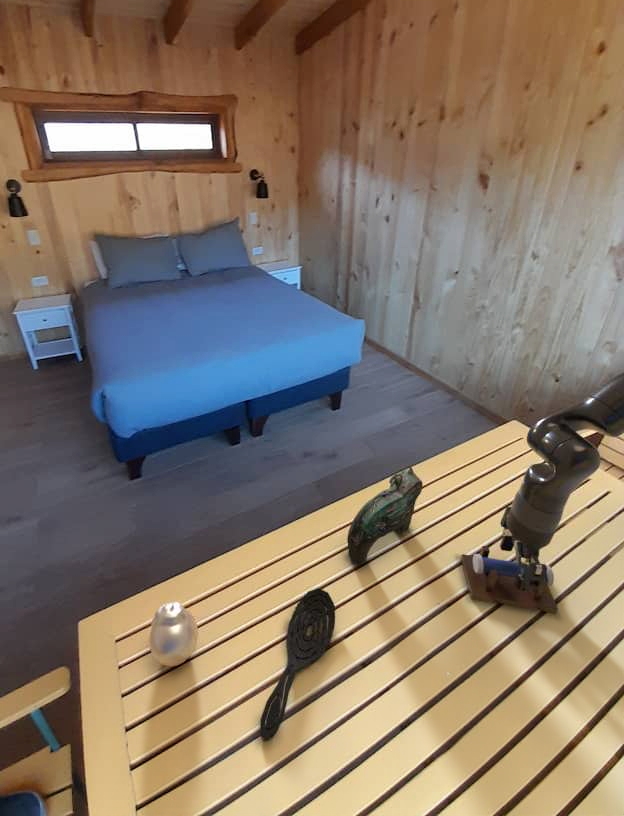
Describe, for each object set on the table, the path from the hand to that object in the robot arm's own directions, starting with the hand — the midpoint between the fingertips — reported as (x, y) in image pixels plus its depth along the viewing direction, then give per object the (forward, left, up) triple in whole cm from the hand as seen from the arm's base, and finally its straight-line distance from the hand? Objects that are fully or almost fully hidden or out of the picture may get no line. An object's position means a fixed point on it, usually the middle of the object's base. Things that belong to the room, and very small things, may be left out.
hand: (512, 567), depth 83 cm
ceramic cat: (+25, -5, -6) cm, 27 cm away
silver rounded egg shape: (+65, +24, -6) cm, 70 cm away
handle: (0, 0, -2) cm, 2 cm away
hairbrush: (+42, +22, -6) cm, 48 cm away
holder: (0, 0, -6) cm, 6 cm away
